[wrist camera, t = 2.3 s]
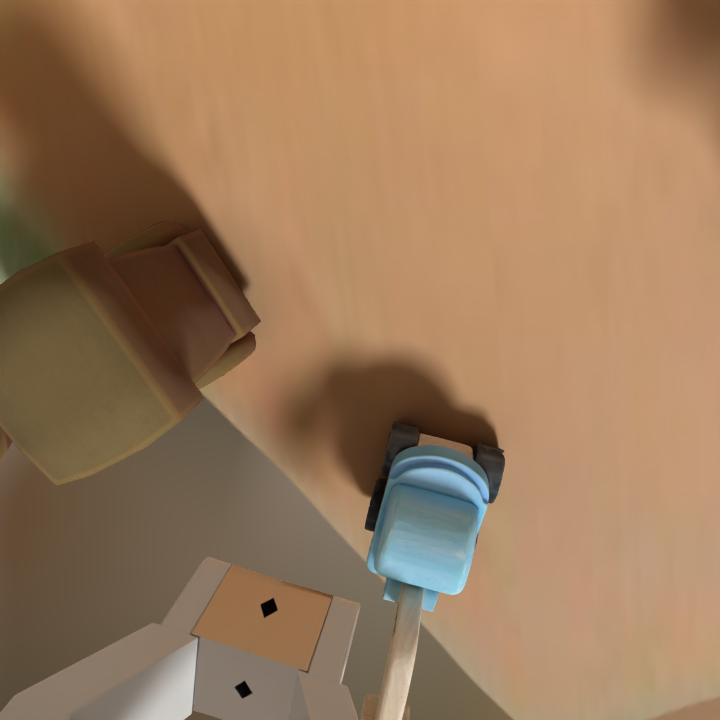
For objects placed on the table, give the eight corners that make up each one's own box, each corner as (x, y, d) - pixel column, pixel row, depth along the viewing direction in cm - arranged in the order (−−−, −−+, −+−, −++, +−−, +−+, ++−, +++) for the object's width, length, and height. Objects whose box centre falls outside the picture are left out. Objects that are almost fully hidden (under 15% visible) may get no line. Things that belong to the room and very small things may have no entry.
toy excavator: (355, 564, 50) (295, 760, 35) (397, 402, 44) (346, 556, 28) (450, 594, 50) (432, 809, 34) (508, 432, 43) (519, 610, 27)
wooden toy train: (209, 191, 40) (42, 233, 25) (296, 328, 43) (191, 439, 28) (31, 316, 48) (-180, 407, 33) (115, 426, 50) (-46, 557, 35)
